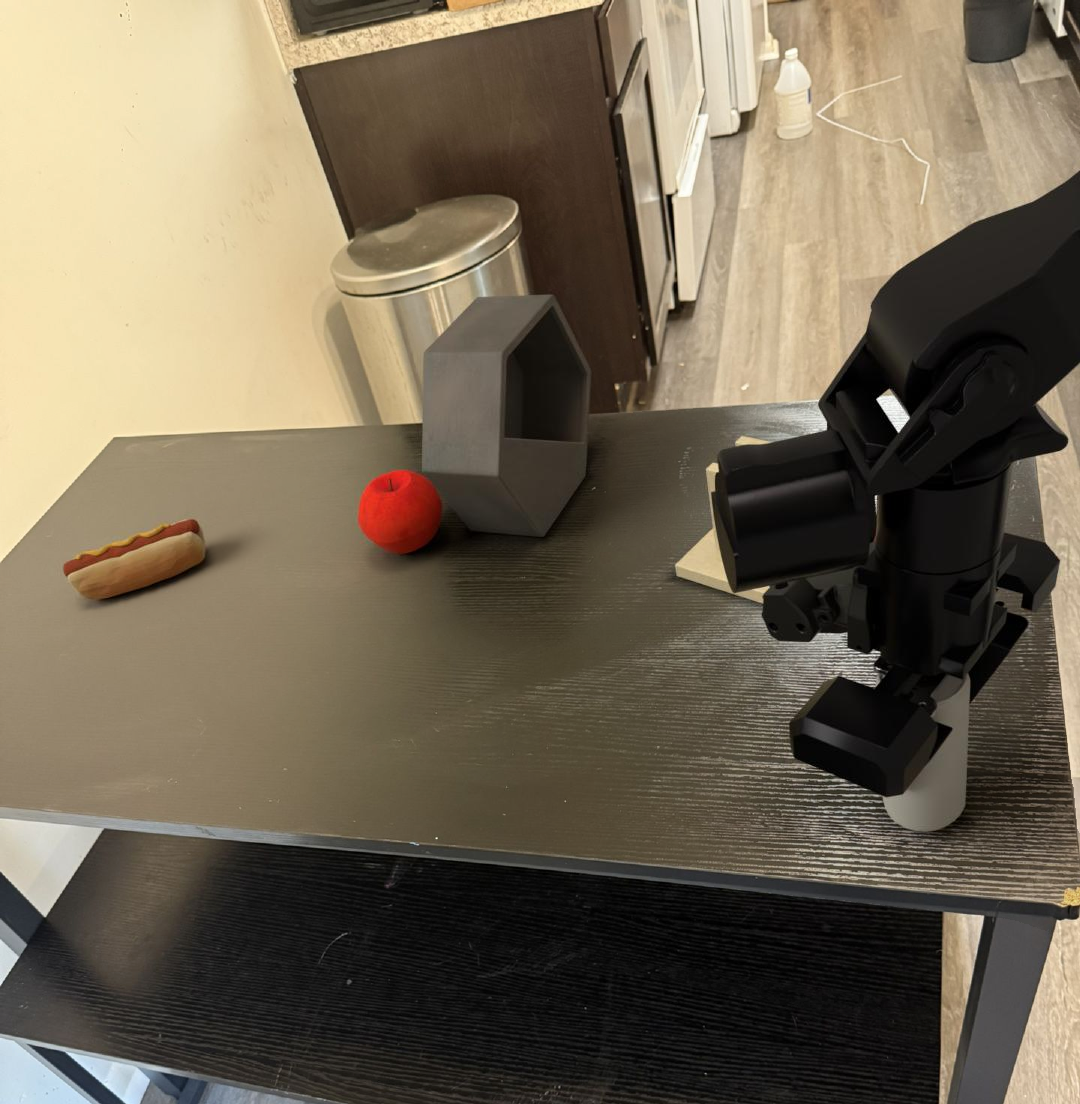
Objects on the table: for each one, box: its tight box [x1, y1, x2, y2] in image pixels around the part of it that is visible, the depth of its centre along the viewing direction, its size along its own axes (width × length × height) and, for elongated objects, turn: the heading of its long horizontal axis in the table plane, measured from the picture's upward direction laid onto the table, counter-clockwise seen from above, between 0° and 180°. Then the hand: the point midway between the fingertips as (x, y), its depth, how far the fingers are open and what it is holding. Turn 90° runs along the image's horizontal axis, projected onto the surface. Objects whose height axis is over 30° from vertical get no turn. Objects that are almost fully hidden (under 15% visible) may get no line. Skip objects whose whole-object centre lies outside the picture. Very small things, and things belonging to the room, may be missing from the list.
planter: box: [421, 294, 592, 538], centre depth 91 cm, size 17×8×21 cm
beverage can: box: [874, 673, 970, 833], centre depth 58 cm, size 5×5×12 cm
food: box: [62, 518, 207, 601], centre depth 101 cm, size 14×6×5 cm, turn 106°
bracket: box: [674, 435, 772, 605], centre depth 80 cm, size 10×9×10 cm
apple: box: [357, 469, 443, 555], centre depth 94 cm, size 8×8×7 cm
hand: (920, 755), depth 59 cm, fingers closed on beverage can, 5 cm apart
